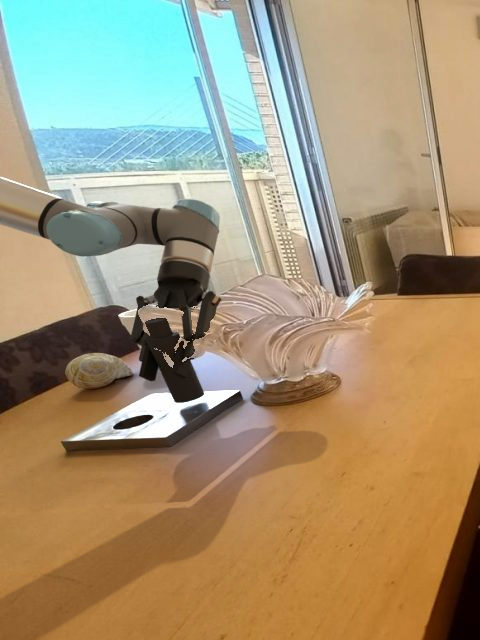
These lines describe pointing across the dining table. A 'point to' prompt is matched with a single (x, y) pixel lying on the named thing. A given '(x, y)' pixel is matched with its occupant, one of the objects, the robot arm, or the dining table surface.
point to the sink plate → (152, 422)
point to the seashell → (96, 370)
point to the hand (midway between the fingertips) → (163, 376)
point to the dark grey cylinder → (166, 342)
